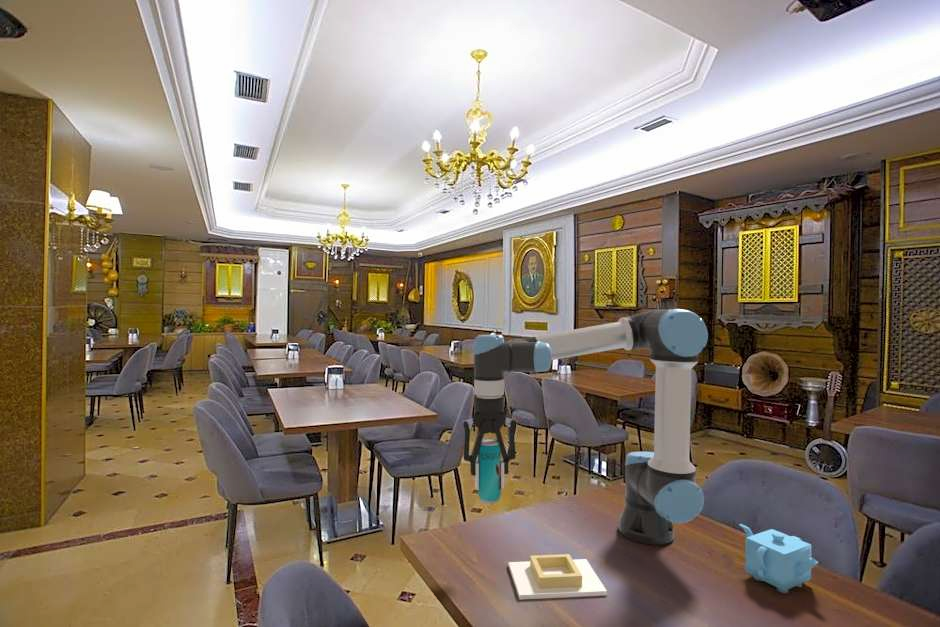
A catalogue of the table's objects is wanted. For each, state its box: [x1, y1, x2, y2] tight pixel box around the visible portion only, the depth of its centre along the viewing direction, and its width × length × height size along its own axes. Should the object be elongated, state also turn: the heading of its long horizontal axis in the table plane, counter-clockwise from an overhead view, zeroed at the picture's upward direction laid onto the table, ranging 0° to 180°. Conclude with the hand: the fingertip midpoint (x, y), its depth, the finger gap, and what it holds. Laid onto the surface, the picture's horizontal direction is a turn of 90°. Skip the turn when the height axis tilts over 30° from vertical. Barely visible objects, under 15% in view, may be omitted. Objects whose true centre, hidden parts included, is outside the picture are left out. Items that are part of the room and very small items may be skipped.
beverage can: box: [477, 438, 502, 505], centre depth 122 cm, size 6×6×15 cm
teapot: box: [738, 523, 819, 594], centre depth 115 cm, size 16×18×11 cm
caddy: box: [507, 553, 608, 601], centre depth 114 cm, size 20×14×4 cm
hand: (489, 487), depth 122 cm, fingers closed on beverage can, 6 cm apart
